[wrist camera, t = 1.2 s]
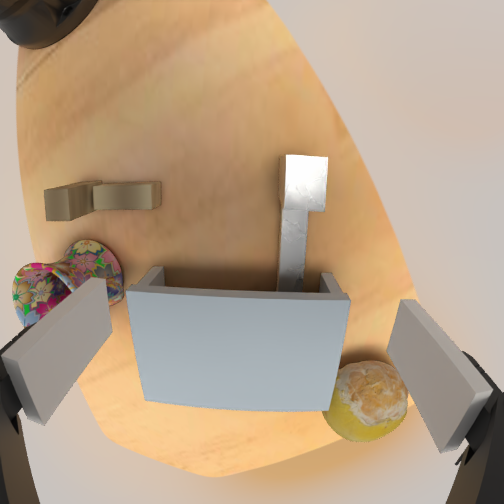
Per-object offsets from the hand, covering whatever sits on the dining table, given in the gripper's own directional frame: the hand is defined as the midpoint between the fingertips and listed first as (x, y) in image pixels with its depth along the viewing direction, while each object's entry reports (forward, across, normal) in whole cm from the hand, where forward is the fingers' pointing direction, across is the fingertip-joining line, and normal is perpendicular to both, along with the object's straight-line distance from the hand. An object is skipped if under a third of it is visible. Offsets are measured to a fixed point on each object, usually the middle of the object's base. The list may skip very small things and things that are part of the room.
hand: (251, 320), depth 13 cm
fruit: (+20, +14, -19) cm, 31 cm away
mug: (+20, -18, -7) cm, 28 cm away
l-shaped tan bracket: (+20, -15, +2) cm, 25 cm away
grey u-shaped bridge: (+20, -1, -11) cm, 23 cm away
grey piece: (+20, +1, -3) cm, 20 cm away
